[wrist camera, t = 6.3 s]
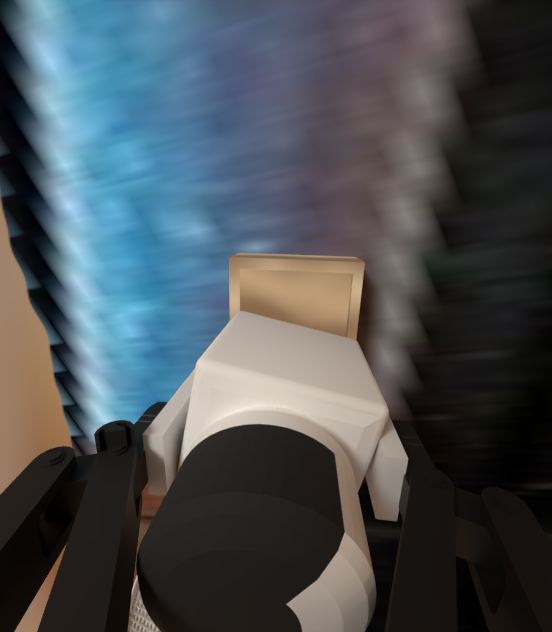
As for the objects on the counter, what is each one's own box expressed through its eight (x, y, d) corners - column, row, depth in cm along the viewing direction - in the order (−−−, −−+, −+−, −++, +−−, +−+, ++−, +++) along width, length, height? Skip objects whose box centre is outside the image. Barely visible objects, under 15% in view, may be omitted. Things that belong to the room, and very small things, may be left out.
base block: (240, 252, 32) (228, 257, 27) (355, 257, 31) (365, 262, 26) (240, 357, 36) (230, 378, 31) (345, 364, 35) (351, 387, 30)
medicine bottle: (216, 412, 20) (88, 676, 8) (237, 307, 17) (106, 461, 6) (324, 441, 19) (352, 752, 8) (359, 338, 17) (466, 558, 6)
